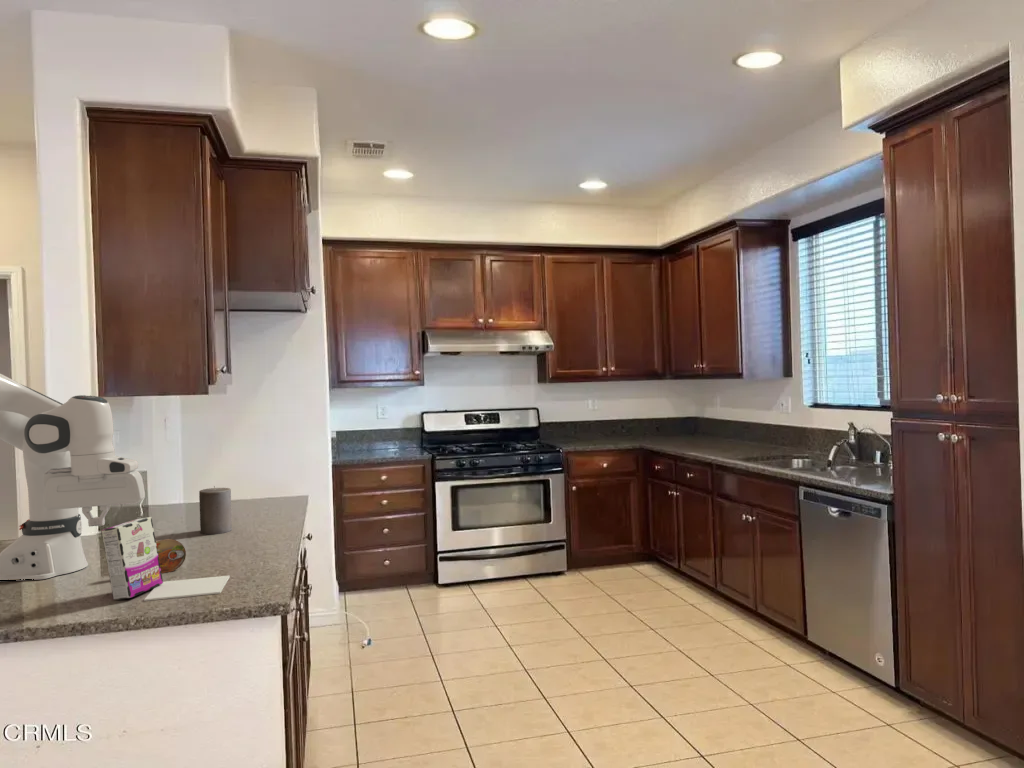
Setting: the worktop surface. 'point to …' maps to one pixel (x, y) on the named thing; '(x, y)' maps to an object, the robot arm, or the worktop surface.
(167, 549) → the tin
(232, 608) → the worktop surface
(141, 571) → the candy bar box
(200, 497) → the pillar candle
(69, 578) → the worktop surface
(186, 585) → the mat
